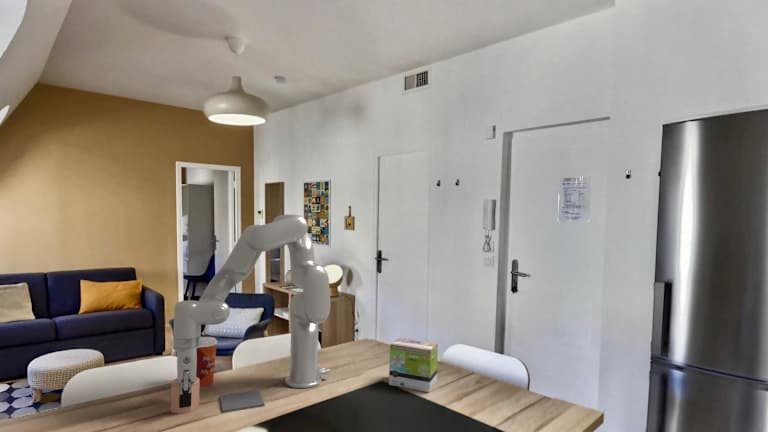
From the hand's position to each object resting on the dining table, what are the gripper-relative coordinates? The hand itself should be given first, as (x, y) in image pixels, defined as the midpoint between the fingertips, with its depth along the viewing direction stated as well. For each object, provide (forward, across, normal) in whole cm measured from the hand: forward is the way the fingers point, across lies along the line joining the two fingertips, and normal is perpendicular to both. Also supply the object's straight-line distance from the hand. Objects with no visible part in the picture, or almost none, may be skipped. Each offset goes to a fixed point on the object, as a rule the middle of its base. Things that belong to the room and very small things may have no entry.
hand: (185, 401), depth 127 cm
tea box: (+2, -10, -73) cm, 74 cm away
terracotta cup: (+2, 0, 0) cm, 2 cm away
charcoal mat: (+2, -2, -16) cm, 16 cm away
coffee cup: (+2, +19, -6) cm, 20 cm away
